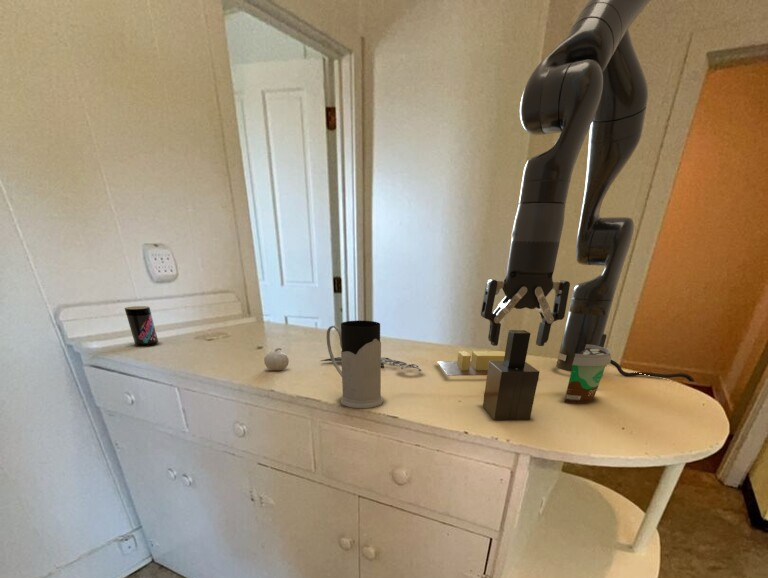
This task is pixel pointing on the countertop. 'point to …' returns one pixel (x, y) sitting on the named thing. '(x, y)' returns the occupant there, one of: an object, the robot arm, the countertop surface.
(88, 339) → the countertop surface
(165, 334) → the countertop surface
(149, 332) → the supplement container
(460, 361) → the butter slice
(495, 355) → the butter
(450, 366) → the rectangular tray
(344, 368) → the glass holder
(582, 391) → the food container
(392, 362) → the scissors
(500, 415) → the knife block
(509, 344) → the kitchen knife
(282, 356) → the garlic
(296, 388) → the countertop surface
